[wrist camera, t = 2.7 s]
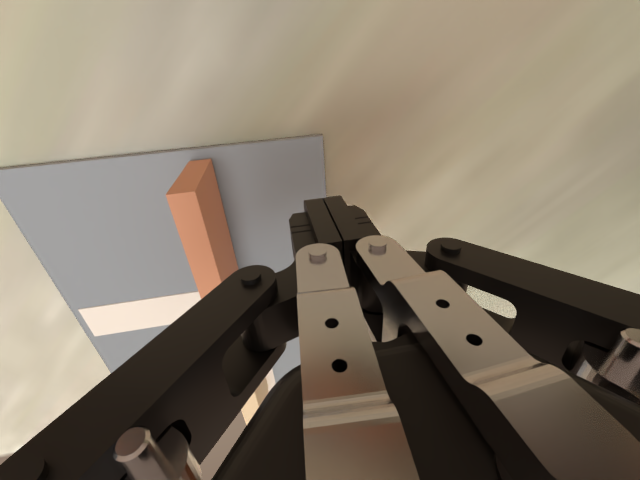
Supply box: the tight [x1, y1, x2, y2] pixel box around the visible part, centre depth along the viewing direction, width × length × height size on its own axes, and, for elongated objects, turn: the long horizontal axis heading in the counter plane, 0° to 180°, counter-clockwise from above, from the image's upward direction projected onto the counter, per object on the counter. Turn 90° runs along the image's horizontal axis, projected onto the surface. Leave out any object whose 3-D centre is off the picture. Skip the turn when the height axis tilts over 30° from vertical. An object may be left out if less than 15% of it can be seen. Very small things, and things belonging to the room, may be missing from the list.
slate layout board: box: [0, 134, 326, 425], centre depth 21 cm, size 18×23×6 cm
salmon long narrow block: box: [166, 159, 239, 299], centre depth 18 cm, size 9×1×5 cm, turn 4°
